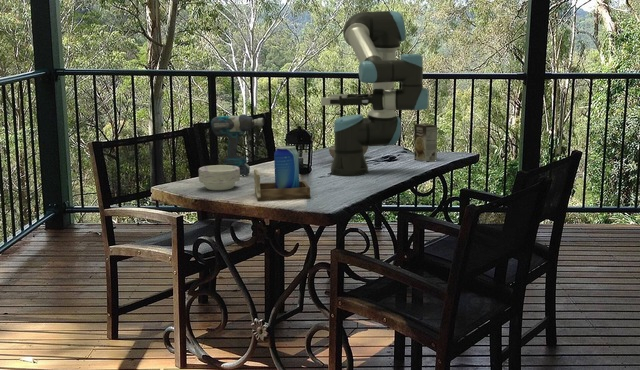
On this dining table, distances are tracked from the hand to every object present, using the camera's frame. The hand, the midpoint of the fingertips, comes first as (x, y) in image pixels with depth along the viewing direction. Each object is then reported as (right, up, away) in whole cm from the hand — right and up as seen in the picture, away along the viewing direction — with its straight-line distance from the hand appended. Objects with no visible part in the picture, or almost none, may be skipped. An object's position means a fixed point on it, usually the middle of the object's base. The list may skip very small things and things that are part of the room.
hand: (325, 99), depth 281 cm
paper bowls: (-39, -32, +12) cm, 52 cm away
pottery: (+12, -20, +75) cm, 79 cm away
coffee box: (+45, -20, +68) cm, 84 cm away
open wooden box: (-15, -34, -6) cm, 38 cm away
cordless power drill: (-35, -27, +41) cm, 60 cm away
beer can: (-13, -33, -7) cm, 37 cm away
